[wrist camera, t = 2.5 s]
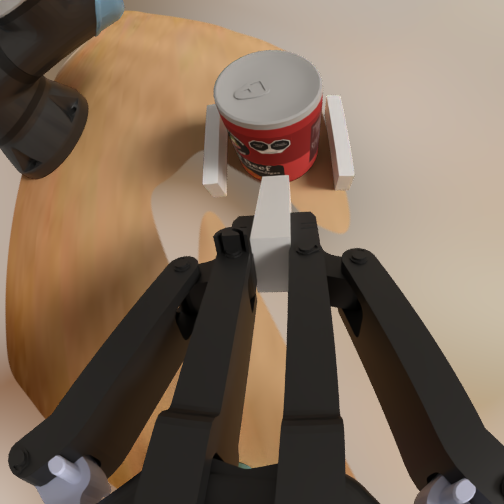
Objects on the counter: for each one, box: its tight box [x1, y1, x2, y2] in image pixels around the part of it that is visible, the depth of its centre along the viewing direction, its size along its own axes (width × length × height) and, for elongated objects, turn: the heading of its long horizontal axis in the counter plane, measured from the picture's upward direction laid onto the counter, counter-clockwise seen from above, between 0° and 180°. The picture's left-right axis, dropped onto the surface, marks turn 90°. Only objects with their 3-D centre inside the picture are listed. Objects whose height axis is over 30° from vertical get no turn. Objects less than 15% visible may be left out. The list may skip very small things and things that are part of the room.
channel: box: [203, 95, 355, 197], centre depth 28 cm, size 9×13×4 cm
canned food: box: [214, 50, 323, 182], centre depth 24 cm, size 8×8×11 cm
